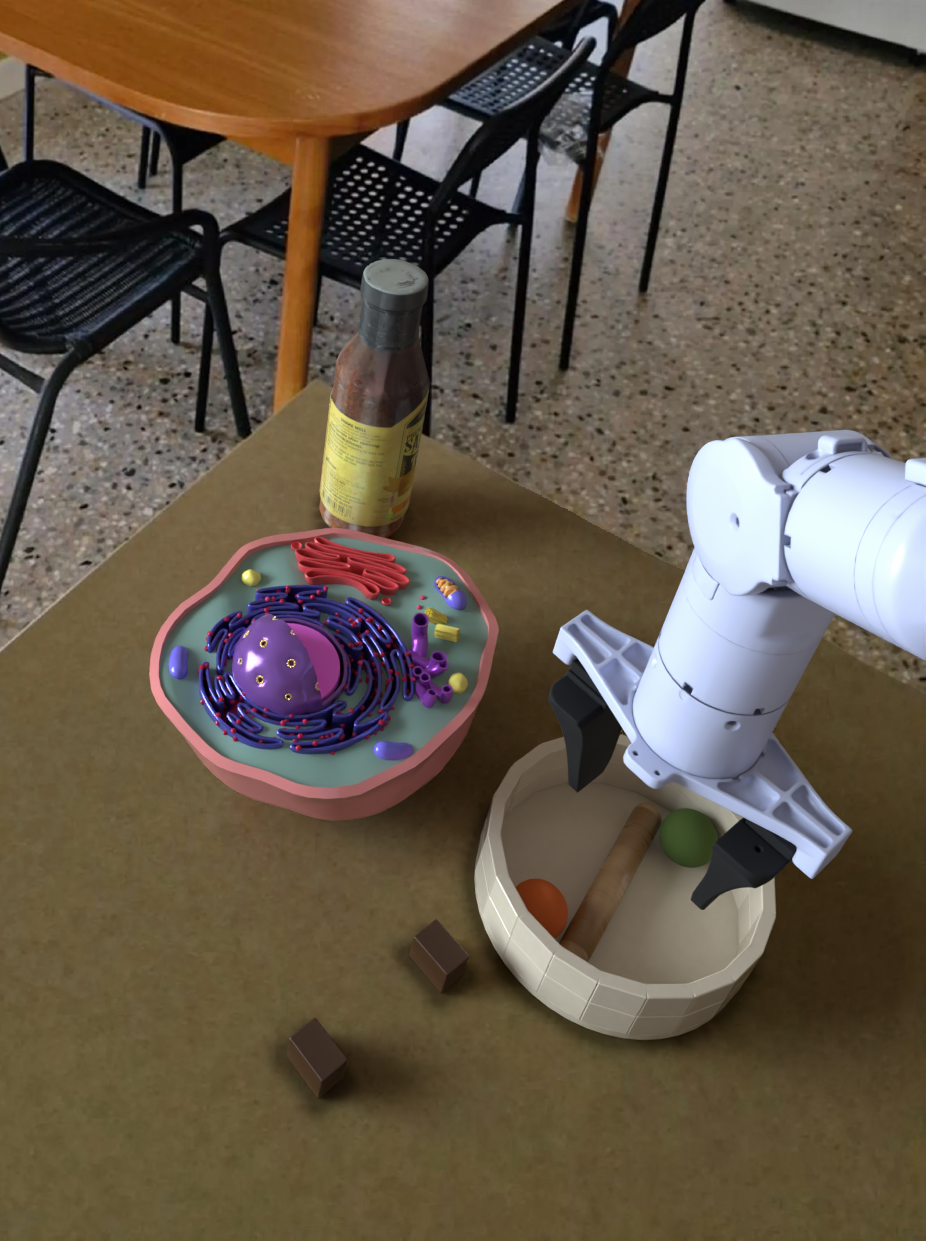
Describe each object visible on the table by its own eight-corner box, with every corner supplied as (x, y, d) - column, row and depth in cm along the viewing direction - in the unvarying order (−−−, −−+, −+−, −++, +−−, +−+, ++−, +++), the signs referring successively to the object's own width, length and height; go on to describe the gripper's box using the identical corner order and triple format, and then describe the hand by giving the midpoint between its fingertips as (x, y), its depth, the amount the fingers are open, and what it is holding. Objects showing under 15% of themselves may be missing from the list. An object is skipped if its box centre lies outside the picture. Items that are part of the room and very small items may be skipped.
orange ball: (588, 931, 63) (550, 935, 65) (568, 869, 64) (531, 875, 66) (543, 948, 61) (506, 951, 63) (524, 884, 62) (488, 889, 64)
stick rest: (430, 937, 64) (436, 918, 63) (463, 975, 63) (470, 956, 61) (285, 1056, 59) (288, 1037, 58) (317, 1100, 58) (322, 1082, 57)
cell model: (542, 768, 72) (586, 644, 65) (247, 940, 63) (261, 818, 56) (372, 573, 83) (394, 448, 76) (99, 697, 74) (95, 568, 67)
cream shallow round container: (803, 926, 66) (832, 882, 63) (630, 1105, 59) (655, 1064, 56) (593, 736, 74) (611, 689, 71) (418, 871, 67) (431, 825, 64)
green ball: (705, 802, 66) (734, 857, 65) (694, 795, 69) (722, 848, 68) (654, 826, 66) (682, 882, 65) (645, 819, 69) (672, 872, 68)
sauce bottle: (408, 549, 85) (455, 315, 72) (317, 544, 85) (348, 308, 72) (402, 482, 90) (444, 252, 78) (315, 477, 90) (344, 246, 77)
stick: (588, 974, 61) (564, 949, 62) (569, 979, 63) (545, 955, 63) (672, 814, 69) (650, 793, 69) (653, 822, 70) (632, 801, 70)
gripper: (535, 593, 55) (482, 770, 64) (823, 838, 47) (718, 1004, 55) (636, 527, 59) (573, 703, 67) (920, 743, 50) (807, 912, 59)
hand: (644, 833), depth 62 cm, fingers open, 7 cm apart
